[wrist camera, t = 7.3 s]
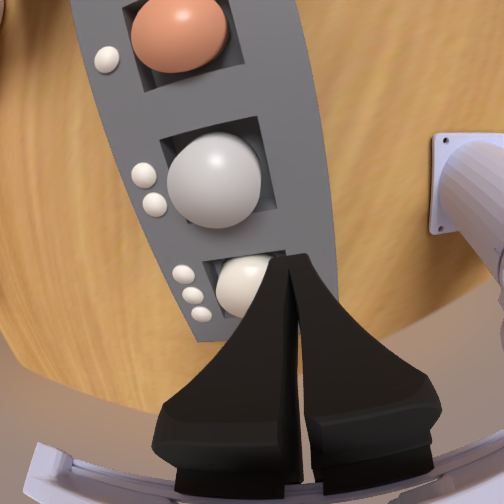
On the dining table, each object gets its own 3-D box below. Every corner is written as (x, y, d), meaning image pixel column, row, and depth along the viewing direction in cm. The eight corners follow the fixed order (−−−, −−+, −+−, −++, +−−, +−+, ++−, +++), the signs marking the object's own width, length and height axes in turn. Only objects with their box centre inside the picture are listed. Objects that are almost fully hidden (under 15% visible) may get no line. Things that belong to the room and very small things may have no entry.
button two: (251, 123, 15) (248, 131, 13) (269, 202, 18) (268, 220, 16) (168, 143, 16) (154, 154, 14) (192, 216, 19) (183, 234, 17)
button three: (279, 243, 21) (280, 262, 19) (290, 294, 23) (290, 315, 22) (212, 253, 22) (206, 272, 20) (230, 301, 24) (226, 322, 22)
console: (271, -57, 10) (271, -77, 8) (334, 302, 26) (339, 330, 23) (93, 2, 13) (67, -3, 10) (203, 317, 28) (197, 344, 25)
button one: (219, -14, 11) (211, -24, 10) (238, 59, 14) (233, 57, 12) (139, 13, 12) (123, 8, 11) (158, 82, 15) (143, 85, 13)
